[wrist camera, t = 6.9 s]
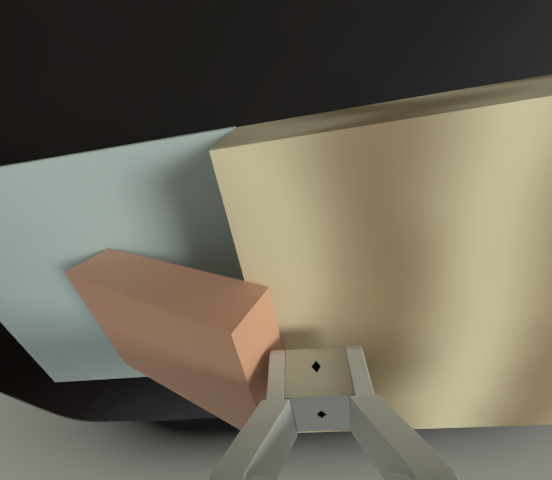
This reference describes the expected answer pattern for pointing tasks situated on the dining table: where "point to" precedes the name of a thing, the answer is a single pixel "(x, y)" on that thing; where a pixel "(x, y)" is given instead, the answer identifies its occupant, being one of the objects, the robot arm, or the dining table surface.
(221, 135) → the mat
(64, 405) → the dining table surface
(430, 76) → the dining table surface
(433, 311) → the beige flat block
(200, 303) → the peach rectangular slab
